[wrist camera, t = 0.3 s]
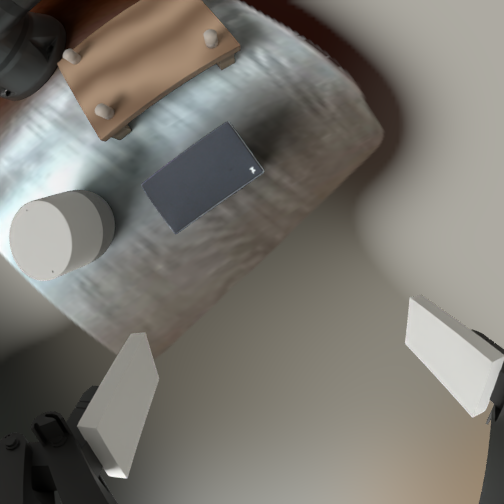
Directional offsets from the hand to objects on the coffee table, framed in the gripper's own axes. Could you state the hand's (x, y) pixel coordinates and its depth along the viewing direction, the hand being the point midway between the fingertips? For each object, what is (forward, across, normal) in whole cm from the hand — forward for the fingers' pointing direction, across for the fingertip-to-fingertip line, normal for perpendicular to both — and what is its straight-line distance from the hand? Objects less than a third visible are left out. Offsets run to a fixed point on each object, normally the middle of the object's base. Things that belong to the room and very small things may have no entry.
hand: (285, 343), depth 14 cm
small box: (+27, -4, +8) cm, 28 cm away
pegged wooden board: (+27, -11, +25) cm, 38 cm away
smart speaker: (+27, -22, +5) cm, 35 cm away
